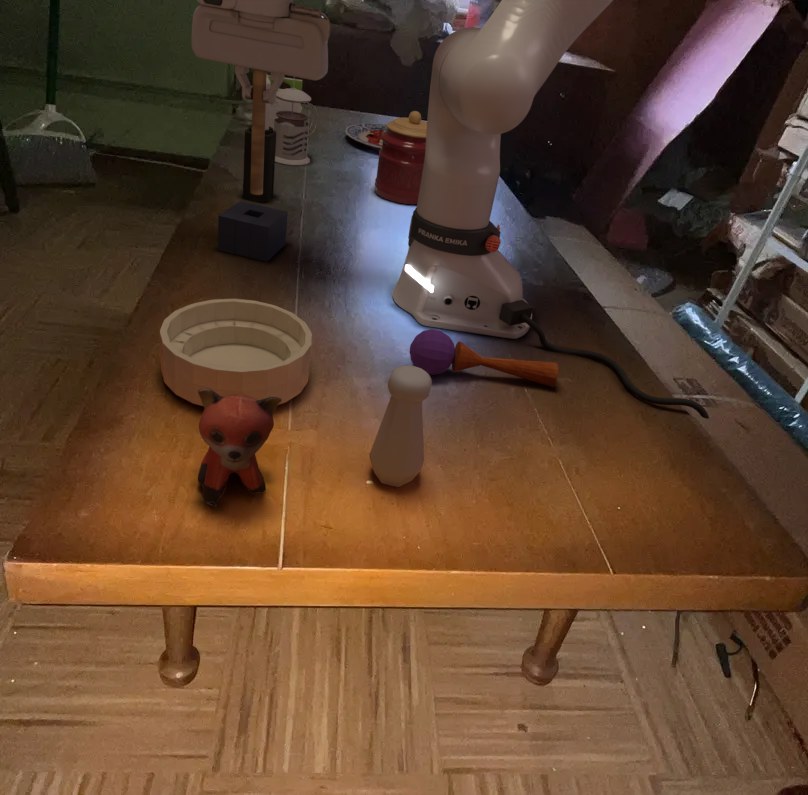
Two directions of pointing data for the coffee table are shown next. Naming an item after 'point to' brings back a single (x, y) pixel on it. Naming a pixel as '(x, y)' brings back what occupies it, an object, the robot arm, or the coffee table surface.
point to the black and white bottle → (268, 160)
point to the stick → (258, 132)
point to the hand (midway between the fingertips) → (258, 100)
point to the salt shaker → (402, 428)
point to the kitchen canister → (402, 159)
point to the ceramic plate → (367, 134)
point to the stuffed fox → (233, 440)
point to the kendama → (472, 359)
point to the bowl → (235, 350)
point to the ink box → (285, 103)
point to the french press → (292, 129)
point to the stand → (252, 230)
